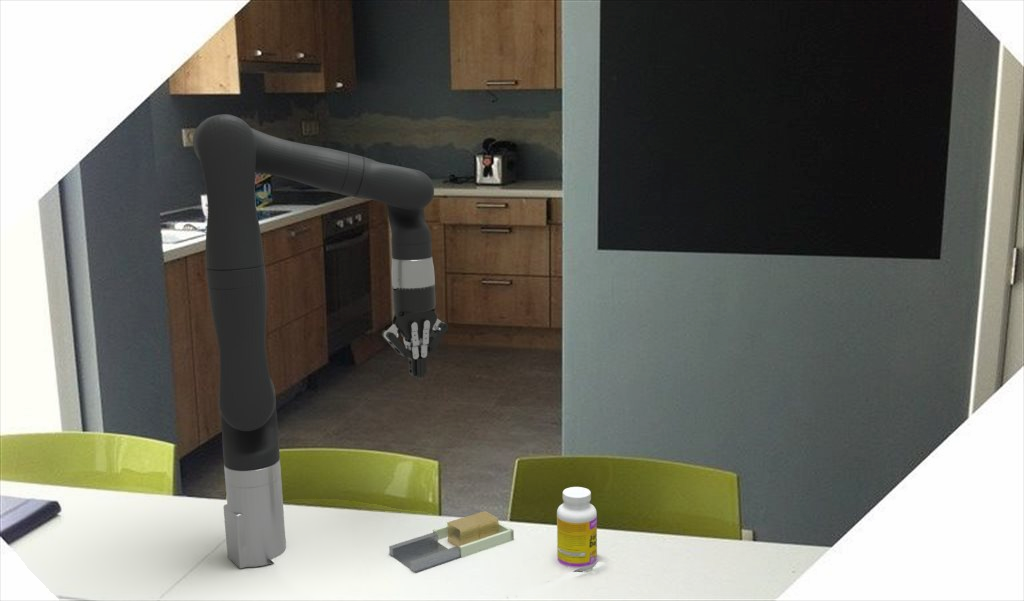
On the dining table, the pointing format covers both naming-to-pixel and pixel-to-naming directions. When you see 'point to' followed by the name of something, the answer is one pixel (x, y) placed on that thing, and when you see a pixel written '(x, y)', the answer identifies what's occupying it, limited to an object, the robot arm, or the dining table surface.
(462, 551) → the tray
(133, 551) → the dining table surface
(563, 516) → the supplement bottle
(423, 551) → the slot rail
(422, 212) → the robot arm
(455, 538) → the brass block
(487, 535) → the brass block
